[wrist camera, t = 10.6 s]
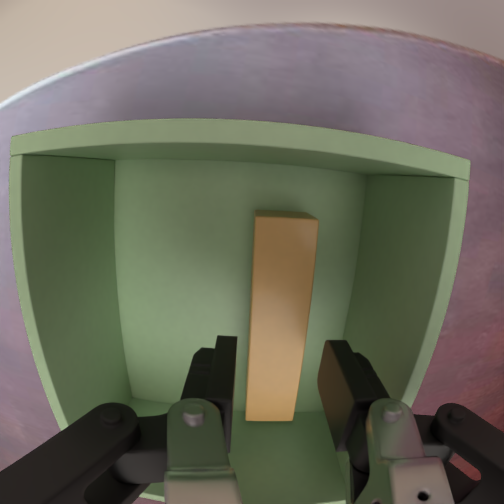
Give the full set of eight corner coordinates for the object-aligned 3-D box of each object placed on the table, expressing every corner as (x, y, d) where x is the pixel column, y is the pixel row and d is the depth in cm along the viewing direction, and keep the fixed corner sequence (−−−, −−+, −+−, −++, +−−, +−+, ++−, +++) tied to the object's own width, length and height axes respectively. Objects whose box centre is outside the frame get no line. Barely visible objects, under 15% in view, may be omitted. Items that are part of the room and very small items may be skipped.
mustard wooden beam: (254, 209, 13) (255, 215, 11) (307, 212, 13) (319, 219, 11) (245, 392, 16) (245, 421, 13) (288, 392, 16) (293, 421, 13)
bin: (111, 149, 14) (10, 136, 6) (373, 164, 14) (471, 160, 6) (128, 396, 17) (87, 482, 10) (329, 411, 17) (356, 503, 10)
